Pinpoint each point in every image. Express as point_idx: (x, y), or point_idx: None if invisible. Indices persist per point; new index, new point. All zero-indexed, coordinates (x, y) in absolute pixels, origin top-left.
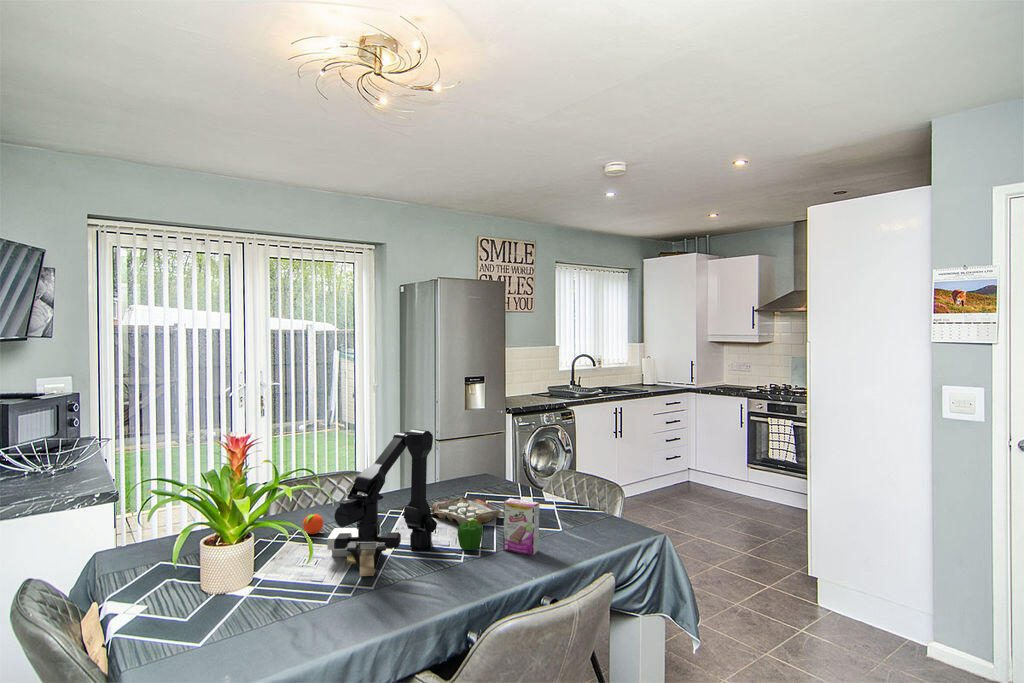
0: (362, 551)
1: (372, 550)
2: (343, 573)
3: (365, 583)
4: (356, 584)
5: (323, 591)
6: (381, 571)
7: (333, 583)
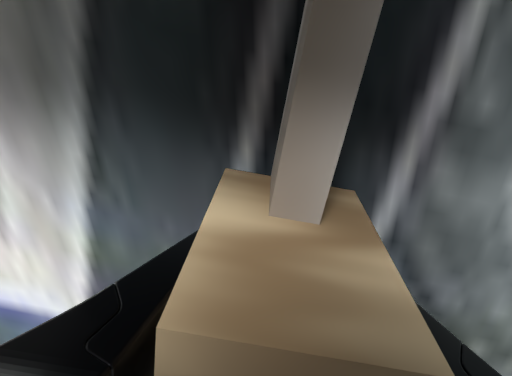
0: (164, 367)
1: (378, 372)
2: (61, 157)
3: None
4: None
5: None
6: (401, 191)
7: (44, 299)
